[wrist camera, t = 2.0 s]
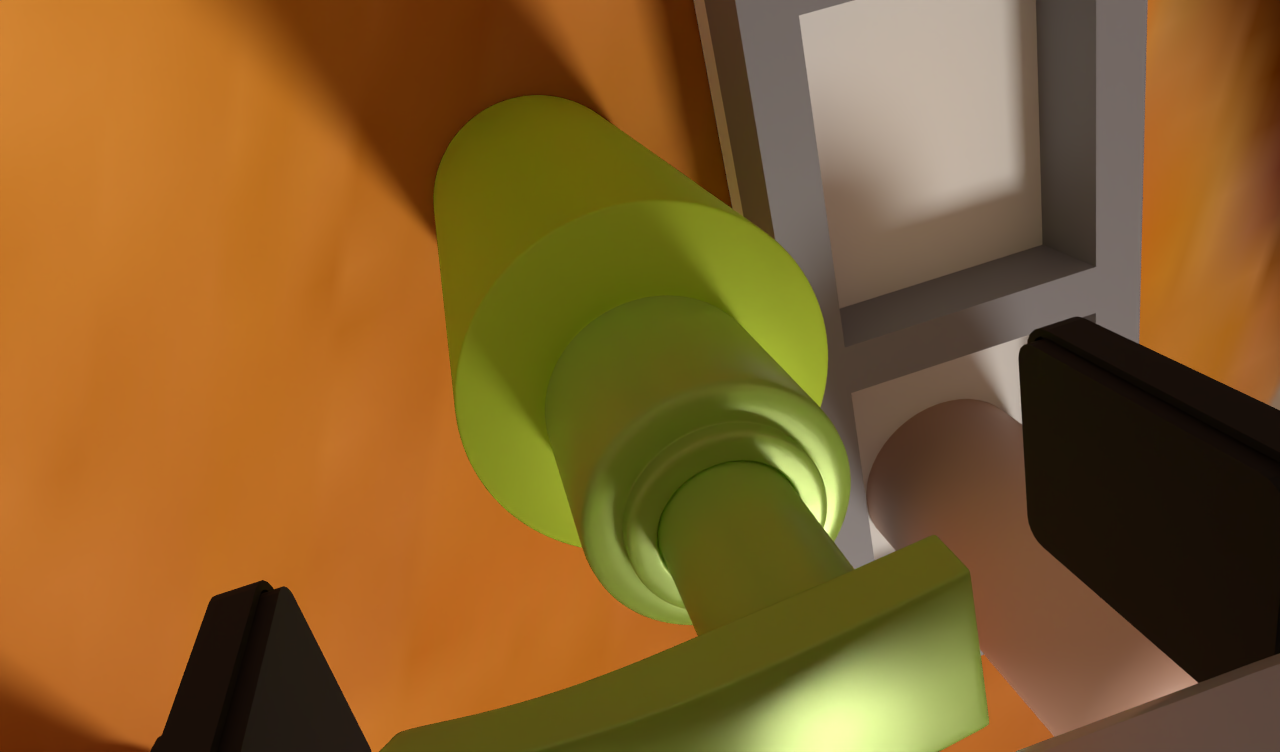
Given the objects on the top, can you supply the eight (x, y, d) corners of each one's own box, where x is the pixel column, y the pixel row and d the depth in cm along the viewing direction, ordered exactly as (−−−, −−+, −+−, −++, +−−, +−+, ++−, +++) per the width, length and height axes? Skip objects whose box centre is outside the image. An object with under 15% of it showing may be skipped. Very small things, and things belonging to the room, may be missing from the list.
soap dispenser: (362, 145, 24) (219, 645, 6) (608, 66, 24) (1155, 300, 6) (441, 340, 26) (510, 1095, 8) (662, 264, 27) (1157, 816, 9)
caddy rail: (671, -118, 23) (901, -206, 12) (1057, -215, 24) (1573, -373, 13) (812, 637, 34) (994, 934, 24) (1069, 545, 36) (1352, 787, 25)
